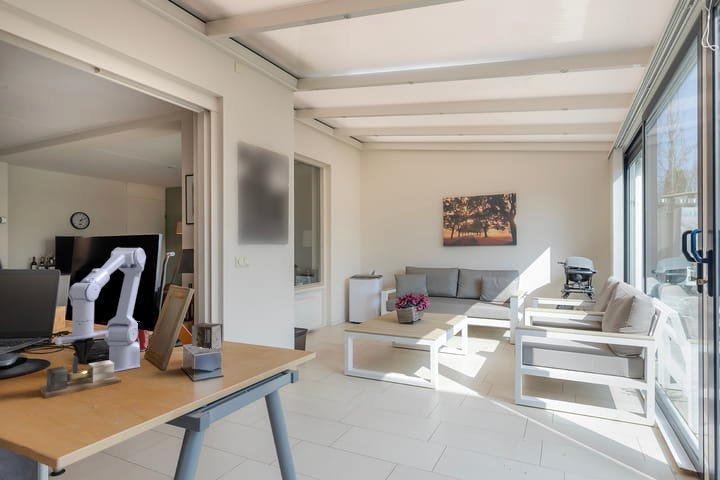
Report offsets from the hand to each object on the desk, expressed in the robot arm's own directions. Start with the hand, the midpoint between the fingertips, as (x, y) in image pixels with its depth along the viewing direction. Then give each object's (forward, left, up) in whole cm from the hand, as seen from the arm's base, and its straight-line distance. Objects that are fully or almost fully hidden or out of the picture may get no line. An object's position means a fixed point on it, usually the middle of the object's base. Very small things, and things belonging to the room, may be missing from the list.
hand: (82, 363), depth 133 cm
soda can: (-30, -34, -7) cm, 46 cm away
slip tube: (+1, 0, -5) cm, 5 cm away
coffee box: (-37, +10, -8) cm, 39 cm away
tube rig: (0, 0, -7) cm, 7 cm away
